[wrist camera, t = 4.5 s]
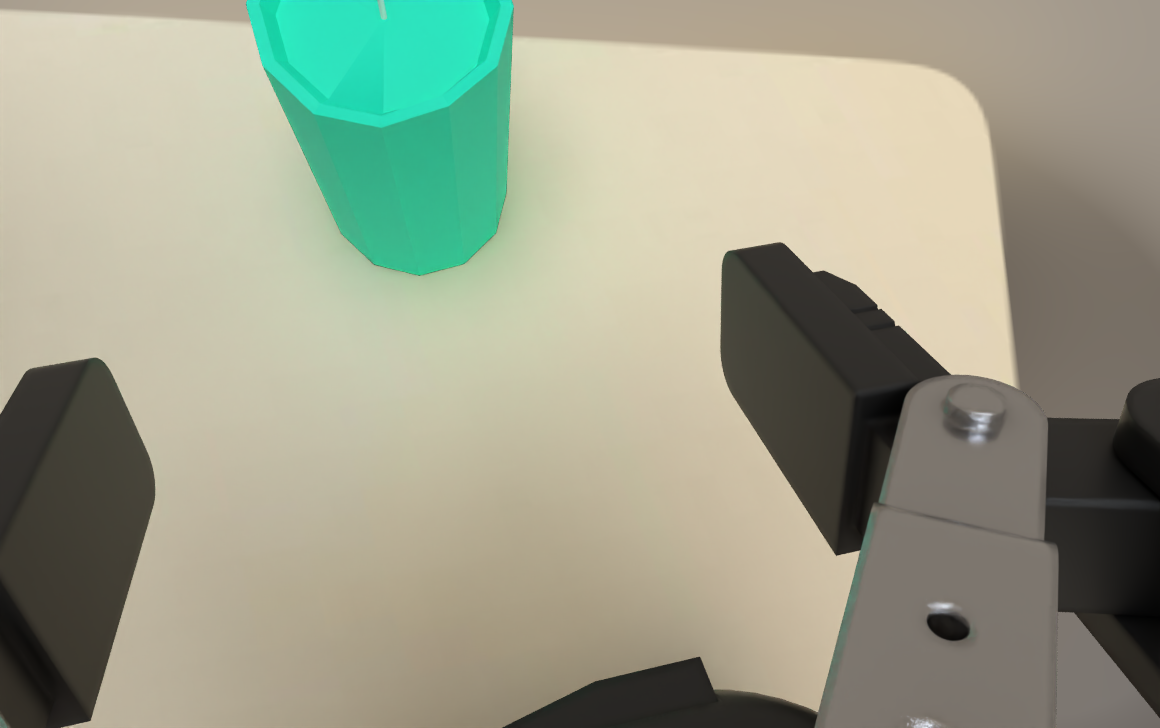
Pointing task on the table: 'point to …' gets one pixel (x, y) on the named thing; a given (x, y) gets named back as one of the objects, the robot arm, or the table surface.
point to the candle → (398, 117)
